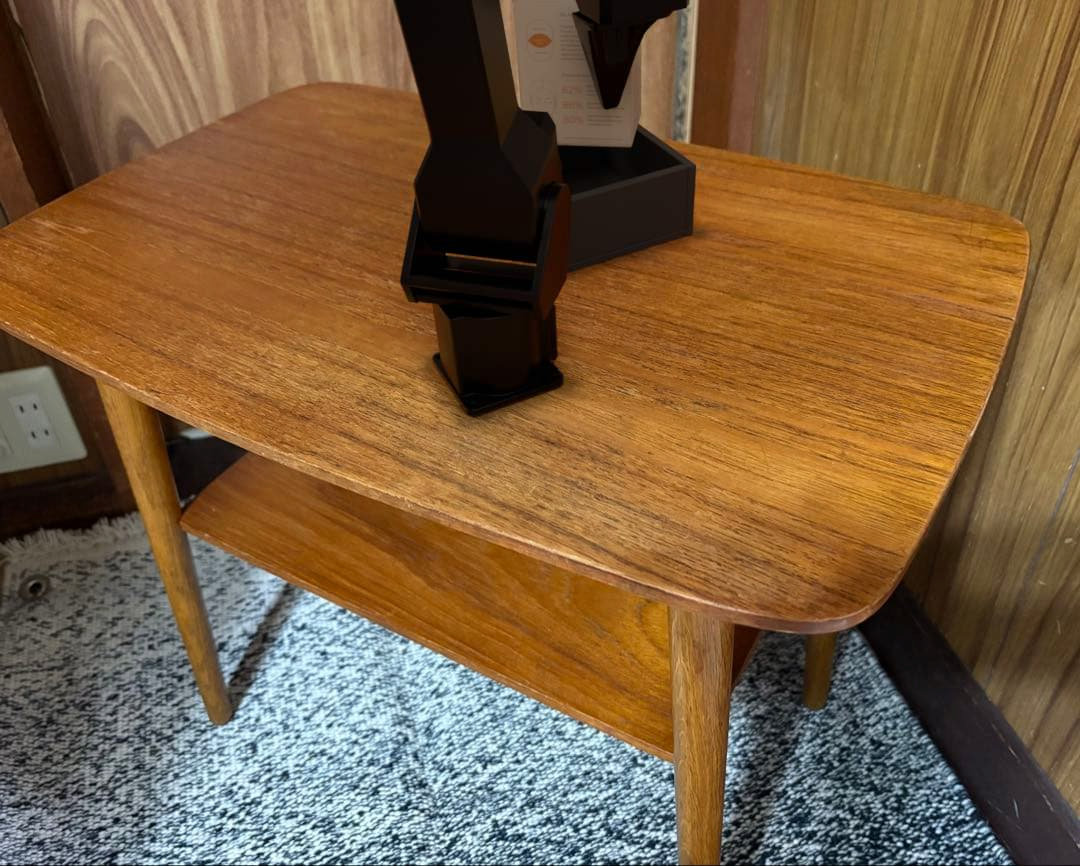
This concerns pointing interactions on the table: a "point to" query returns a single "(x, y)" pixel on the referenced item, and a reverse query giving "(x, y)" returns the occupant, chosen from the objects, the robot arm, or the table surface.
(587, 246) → the storage bin
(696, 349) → the table surface
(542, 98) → the small box
